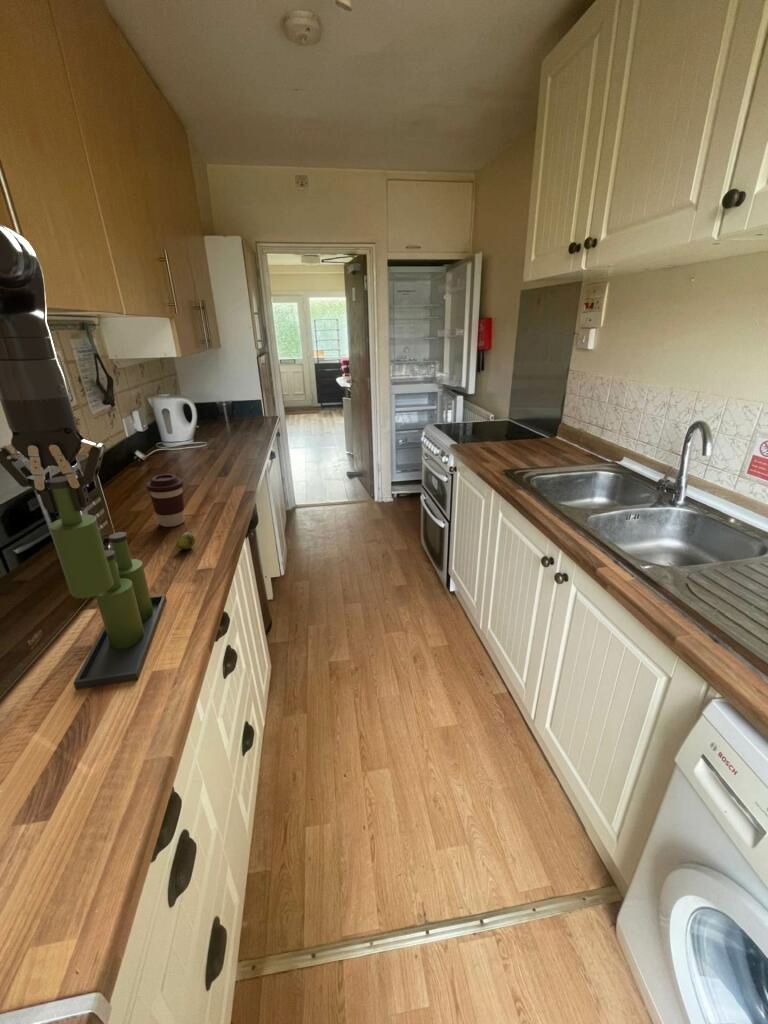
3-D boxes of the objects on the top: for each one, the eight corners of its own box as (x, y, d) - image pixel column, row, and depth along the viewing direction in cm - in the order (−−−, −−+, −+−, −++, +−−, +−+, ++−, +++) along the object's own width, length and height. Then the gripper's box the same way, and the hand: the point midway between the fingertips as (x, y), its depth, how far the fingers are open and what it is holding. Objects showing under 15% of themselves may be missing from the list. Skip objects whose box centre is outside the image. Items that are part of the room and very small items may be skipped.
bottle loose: (62, 592, 69) (25, 481, 62) (98, 574, 74) (68, 470, 67) (85, 602, 67) (50, 488, 59) (121, 583, 72) (93, 476, 64)
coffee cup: (173, 531, 129) (164, 484, 123) (147, 526, 131) (137, 480, 125) (196, 518, 137) (189, 474, 131) (171, 514, 140) (163, 470, 134)
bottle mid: (102, 643, 83) (76, 557, 75) (131, 625, 88) (109, 543, 80) (123, 652, 80) (98, 565, 73) (151, 634, 85) (131, 550, 78)
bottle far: (115, 618, 89) (92, 538, 82) (141, 603, 94) (121, 526, 87) (134, 627, 87) (112, 545, 79) (159, 611, 92) (141, 532, 84)
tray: (138, 682, 75) (136, 673, 74) (76, 692, 72) (73, 682, 71) (167, 602, 96) (165, 594, 95) (119, 608, 94) (117, 600, 93)
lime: (177, 553, 116) (174, 537, 114) (181, 545, 121) (178, 529, 119) (194, 552, 117) (191, 536, 115) (198, 544, 122) (195, 528, 120)
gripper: (101, 389, 63) (127, 498, 70) (-11, 390, 60) (27, 504, 67) (82, 397, 56) (112, 516, 63) (-46, 398, 53) (0, 524, 60)
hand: (68, 509), depth 65 cm, fingers closed on bottle loose, 3 cm apart
